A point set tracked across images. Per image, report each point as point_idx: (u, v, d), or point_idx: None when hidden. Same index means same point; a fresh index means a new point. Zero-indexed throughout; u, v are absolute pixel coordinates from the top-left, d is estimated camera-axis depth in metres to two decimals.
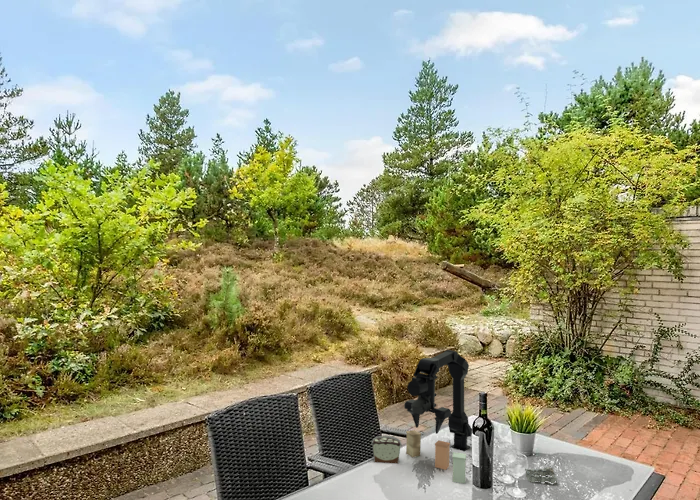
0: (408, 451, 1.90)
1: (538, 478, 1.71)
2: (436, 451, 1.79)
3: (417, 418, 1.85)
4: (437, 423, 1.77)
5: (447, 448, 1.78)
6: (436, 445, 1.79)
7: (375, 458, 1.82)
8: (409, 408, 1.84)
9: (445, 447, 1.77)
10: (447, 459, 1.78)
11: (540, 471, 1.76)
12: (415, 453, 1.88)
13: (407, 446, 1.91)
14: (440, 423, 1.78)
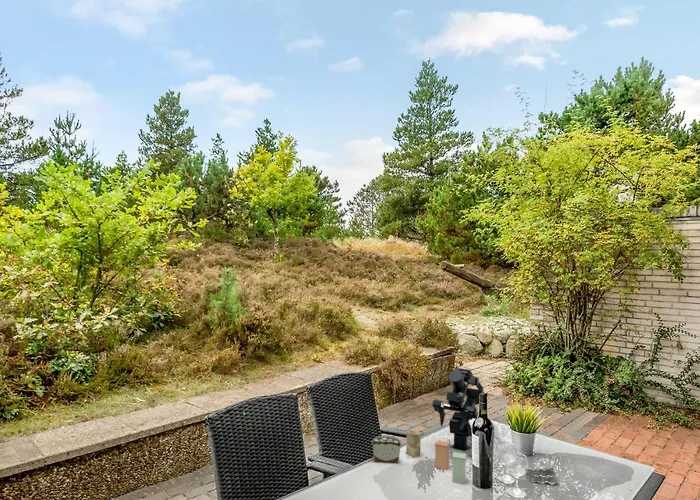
0: (408, 451, 1.90)
1: (538, 478, 1.71)
2: (436, 451, 1.79)
3: (443, 418, 1.94)
4: (463, 418, 1.89)
5: (447, 448, 1.78)
6: (436, 445, 1.79)
7: (375, 458, 1.82)
8: (438, 403, 1.96)
9: (445, 447, 1.77)
10: (447, 459, 1.78)
11: (541, 471, 1.76)
12: (415, 453, 1.88)
13: (407, 446, 1.91)
14: (465, 421, 1.90)
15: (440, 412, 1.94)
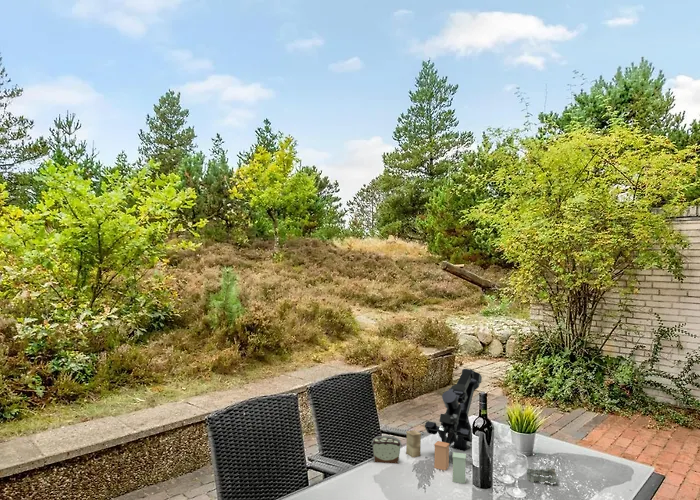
0: (408, 451, 1.90)
1: (537, 478, 1.71)
2: (436, 452, 1.78)
3: (445, 442, 1.84)
4: (448, 439, 1.83)
5: (446, 449, 1.77)
6: (435, 446, 1.78)
7: (375, 458, 1.82)
8: (431, 425, 1.87)
9: (444, 448, 1.76)
10: (446, 460, 1.77)
11: (542, 471, 1.76)
12: (415, 453, 1.88)
13: (407, 446, 1.91)
14: None
15: (442, 436, 1.84)
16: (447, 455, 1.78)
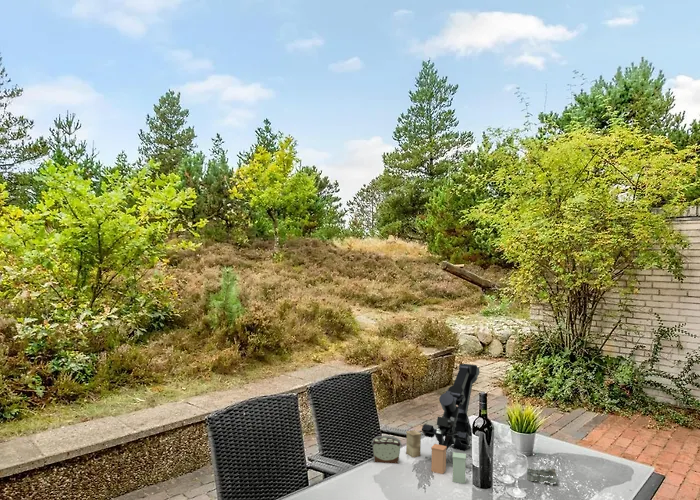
0: (408, 451, 1.90)
1: (537, 477, 1.72)
2: (433, 455, 1.75)
3: None
4: (445, 442, 1.79)
5: (444, 452, 1.74)
6: (432, 449, 1.75)
7: (375, 458, 1.82)
8: (428, 428, 1.84)
9: (442, 451, 1.73)
10: (443, 463, 1.74)
11: (542, 471, 1.76)
12: (415, 453, 1.88)
13: (407, 446, 1.91)
14: None
15: (439, 440, 1.81)
16: (444, 458, 1.75)
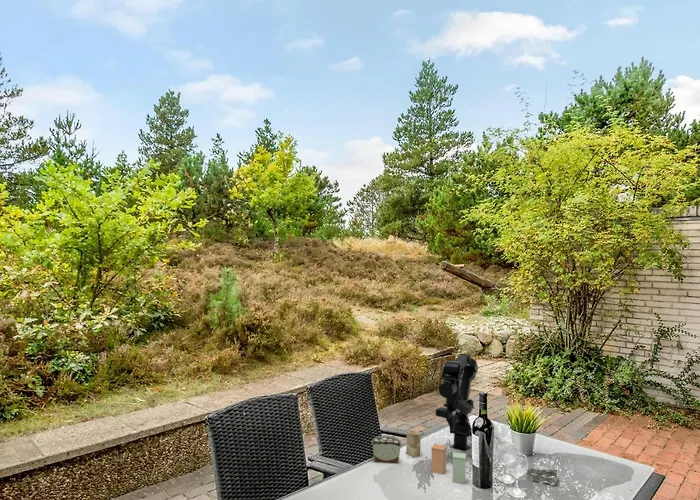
0: (408, 451, 1.90)
1: (537, 477, 1.72)
2: (433, 455, 1.75)
3: None
4: (456, 418, 1.91)
5: (444, 452, 1.74)
6: (432, 449, 1.75)
7: (375, 458, 1.82)
8: (451, 415, 1.84)
9: (442, 451, 1.73)
10: (443, 463, 1.74)
11: (544, 472, 1.76)
12: (415, 453, 1.88)
13: (407, 446, 1.91)
14: None
15: (454, 419, 1.89)
16: (444, 458, 1.75)
